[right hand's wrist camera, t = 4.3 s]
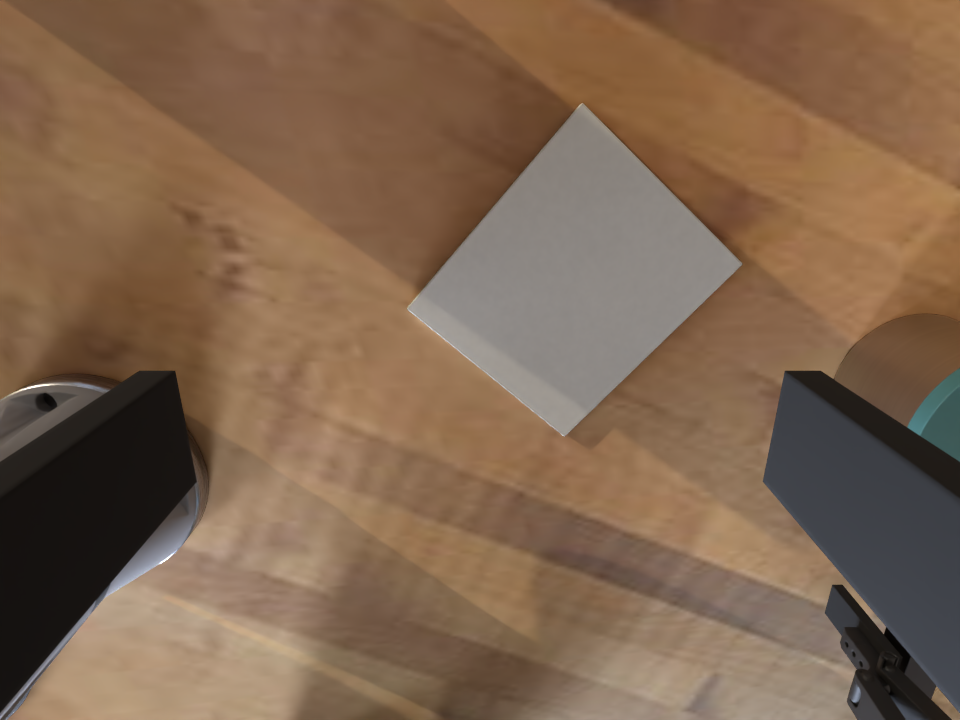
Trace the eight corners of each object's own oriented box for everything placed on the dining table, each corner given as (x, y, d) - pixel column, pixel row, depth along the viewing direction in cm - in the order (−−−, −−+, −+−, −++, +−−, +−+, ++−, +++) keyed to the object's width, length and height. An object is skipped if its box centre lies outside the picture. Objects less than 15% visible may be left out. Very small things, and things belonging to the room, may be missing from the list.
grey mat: (563, 433, 40) (564, 437, 40) (407, 306, 37) (406, 309, 37) (739, 262, 36) (743, 264, 36) (580, 103, 33) (582, 102, 32)
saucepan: (848, 313, 37) (941, 354, 30) (1002, 313, 37) (1133, 355, 30) (778, 614, 46) (837, 705, 38) (903, 614, 46) (986, 705, 38)
